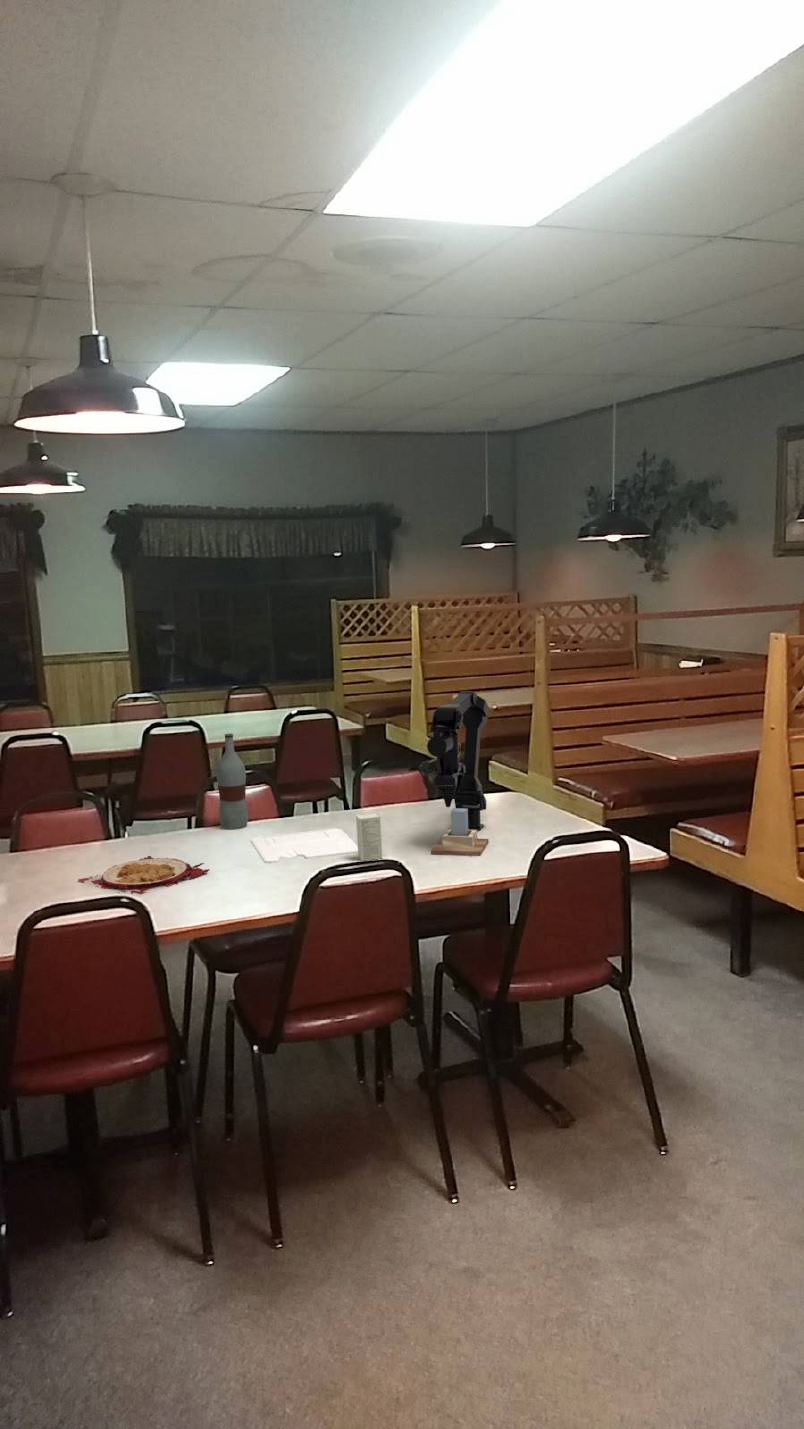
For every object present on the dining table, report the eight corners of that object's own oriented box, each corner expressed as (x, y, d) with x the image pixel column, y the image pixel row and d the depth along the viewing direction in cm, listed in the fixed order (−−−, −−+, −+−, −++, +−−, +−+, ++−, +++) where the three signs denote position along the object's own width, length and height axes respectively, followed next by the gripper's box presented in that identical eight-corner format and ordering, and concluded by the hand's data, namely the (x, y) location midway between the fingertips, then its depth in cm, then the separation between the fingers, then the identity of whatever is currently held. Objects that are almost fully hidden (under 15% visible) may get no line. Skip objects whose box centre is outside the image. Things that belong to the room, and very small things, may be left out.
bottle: (252, 822, 313) (247, 731, 309) (244, 830, 304) (238, 736, 300) (224, 822, 314) (219, 732, 310) (215, 830, 305) (209, 736, 301)
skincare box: (379, 855, 270) (377, 812, 269) (382, 859, 266) (381, 816, 264) (357, 857, 269) (355, 814, 267) (360, 861, 265) (358, 818, 263)
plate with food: (150, 862, 274) (149, 850, 274) (210, 874, 258) (209, 861, 258) (77, 885, 255) (75, 873, 255) (137, 899, 240) (135, 886, 239)
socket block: (441, 841, 283) (441, 826, 282) (488, 842, 279) (488, 827, 278) (430, 854, 269) (430, 838, 269) (480, 856, 266) (479, 840, 265)
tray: (363, 854, 274) (363, 849, 274) (265, 866, 265) (265, 860, 265) (339, 831, 300) (339, 826, 300) (249, 841, 292) (249, 836, 292)
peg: (454, 842, 276) (454, 808, 275) (468, 842, 275) (467, 808, 274) (452, 845, 273) (451, 811, 271) (465, 846, 272) (465, 811, 270)
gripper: (427, 743, 286) (429, 795, 289) (414, 756, 268) (417, 810, 271) (464, 743, 284) (466, 795, 286) (454, 756, 266) (456, 811, 268)
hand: (450, 803), depth 278 cm, fingers open, 9 cm apart
